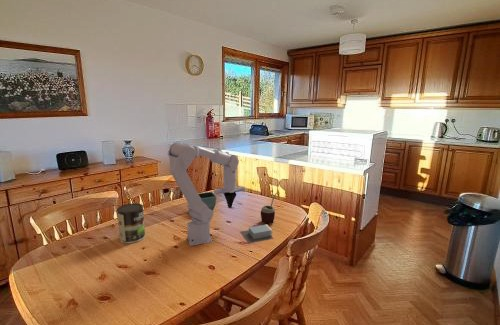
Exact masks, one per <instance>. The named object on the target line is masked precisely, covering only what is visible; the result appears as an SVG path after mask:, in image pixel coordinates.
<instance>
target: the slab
mask: <svg viewBox="0 0 500 325" xmlns="http://www.w3.org/2000/svg"><path fill="white" fill-rule="evenodd" d="M248 230H249V234H250V235H251V236H252V238H253V239H257V238H263V237H268V236H272V237H273V229H272V228H271V227H270V226H269V225H268V224H266V223H265V224H261V225H255V226H249V227H248Z"/></svg>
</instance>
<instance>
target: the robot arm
mask: <svg viewBox="0 0 500 325" xmlns="http://www.w3.org/2000/svg"><path fill="white" fill-rule="evenodd" d="M167 155H168V156H167V157H169V159H168V160H169V172H170V174H171V176H172V178H173V179H174V182H175V183H176V184H177V187H178V188H179V190H180V192H181V193H182V195H183V197H184V198H185V200H186V202H187V209H188V215H189V216H190V218H191V220H190V221H189V222H187V224H186V226H187V227H186V228H187V240H188V244H189V246H191V247H193V246H197V245H202V244H203V245H204V244H208V243H213V239H212V237H211V232H210V229H211V228H210V226H211V224H210V222H211V220H212V219H213V217H214V213H213V211H212V210H211V209H209V208H208V207H207V205H206V204H205V203H204V202H203V201H202V200H201V198H200V196H199V195H198V194H199V193H198V191H197V188H196V187H195V185H194V184H193V182H192V178H190V176H189V174H188V172H187V170H188V168H189V167H190V165H191V164H192V162H193V161H194V160H195V159H196V158H198V157H199V156H200V157H204V158H208V159H210V162H212V163H214V164H218V165H221V166H223V171H222V172H223V187H221V188H217V189H216V188H215V189H214V190H213V193H214V194H215V195H216V196H217V195H221V194H223V196H224V198H225V201H226V204H227V208H228V209H232V207H233V202H234V201H235V199H236V197H237V193H239V192H243V193H244V192H246V188H245V187H244V186H237V169H238V165H239V163H240V162H239V161H240V160H239V158H238V157H237V155H235V154H231V153H230V152H229V151H223V150H222V149H220V148H217V149H213V150H209V149H207V148H205V147H202V146H199V145H195V144H194V145H193V144H189V143H182V142H181V143H180V142H174V143H172V144H171V145H170V147H169V150H168V152H167Z"/></svg>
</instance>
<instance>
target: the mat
mask: <svg viewBox="0 0 500 325" xmlns="http://www.w3.org/2000/svg"><path fill="white" fill-rule="evenodd" d="M239 233H240V234H241V235H242V237H243V238H244V240H246V242H247V244H253V243H258V242H259V243H260V242H264V241H269V240H273V239H274V238H275V237H273V235H272V236H268V237H263V238H257V239H253V238H252V236H251V235H250V234H249V229H247V230H242V231H240V232H239Z"/></svg>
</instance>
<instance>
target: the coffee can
mask: <svg viewBox="0 0 500 325" xmlns="http://www.w3.org/2000/svg"><path fill="white" fill-rule="evenodd" d="M116 212H117V222H118V228H119V230H118V232H119V241H120V242H121V243H123V244H134V243H138V242H140V241H142V240H144V238H146V229H145V215H144V205H143V204H142V203H138V202H137V203H135V202H134V203H126V204H123V205H120V206H118V208H117V209H116Z"/></svg>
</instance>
